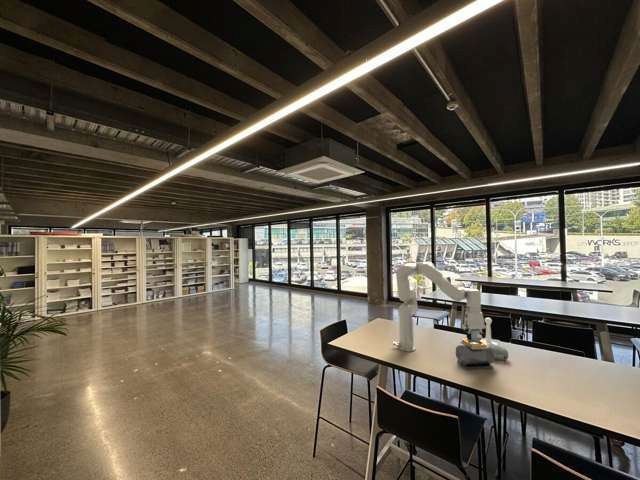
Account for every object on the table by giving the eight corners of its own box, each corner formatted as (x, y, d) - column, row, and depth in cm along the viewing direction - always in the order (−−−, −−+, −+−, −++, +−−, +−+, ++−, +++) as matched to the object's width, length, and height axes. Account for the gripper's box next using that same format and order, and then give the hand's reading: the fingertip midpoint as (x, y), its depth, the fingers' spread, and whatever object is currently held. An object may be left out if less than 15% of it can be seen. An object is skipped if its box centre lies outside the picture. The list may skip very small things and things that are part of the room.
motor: (467, 370, 154) (466, 345, 154) (455, 361, 165) (455, 338, 165) (497, 368, 155) (497, 344, 156) (484, 360, 166) (484, 337, 167)
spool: (511, 353, 169) (505, 341, 168) (510, 365, 163) (504, 352, 161) (487, 352, 179) (481, 341, 177) (485, 363, 172) (479, 351, 170)
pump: (475, 344, 154) (475, 332, 155) (466, 339, 163) (466, 327, 163) (485, 344, 155) (485, 332, 155) (475, 338, 164) (475, 327, 164)
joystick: (498, 346, 190) (497, 318, 191) (495, 349, 185) (495, 320, 185) (481, 342, 198) (480, 315, 199) (477, 344, 193) (477, 317, 193)
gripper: (464, 311, 156) (464, 342, 156) (491, 310, 158) (491, 341, 157) (456, 308, 164) (456, 337, 163) (482, 307, 165) (483, 336, 165)
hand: (474, 339), depth 160 cm, fingers closed on pump, 5 cm apart
